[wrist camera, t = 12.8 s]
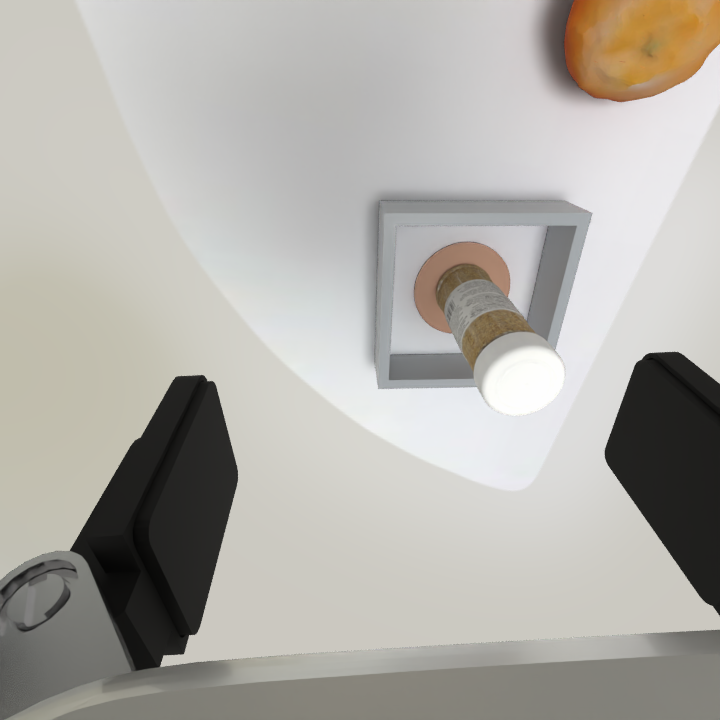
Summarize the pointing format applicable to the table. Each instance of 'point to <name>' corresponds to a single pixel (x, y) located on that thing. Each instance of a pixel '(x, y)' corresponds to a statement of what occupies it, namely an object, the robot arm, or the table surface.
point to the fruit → (638, 44)
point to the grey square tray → (550, 286)
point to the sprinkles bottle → (499, 343)
